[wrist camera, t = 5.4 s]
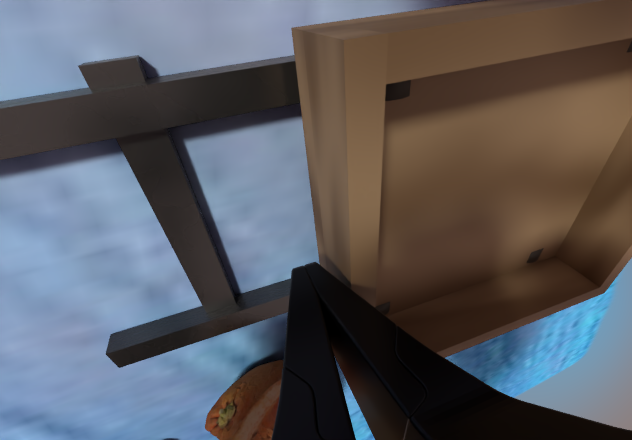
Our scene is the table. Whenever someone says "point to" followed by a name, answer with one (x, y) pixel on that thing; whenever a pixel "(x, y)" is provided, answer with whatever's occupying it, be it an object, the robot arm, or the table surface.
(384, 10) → the table surface
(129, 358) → the rail track
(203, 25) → the table surface
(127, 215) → the table surface
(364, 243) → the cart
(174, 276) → the table surface
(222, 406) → the fruit slice
